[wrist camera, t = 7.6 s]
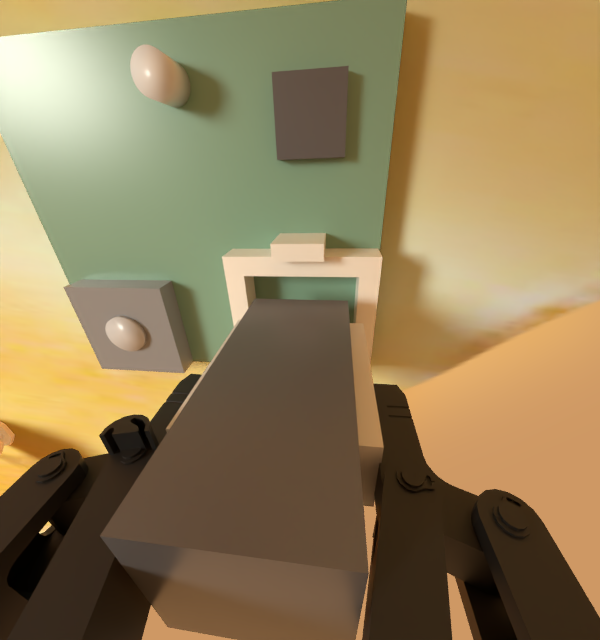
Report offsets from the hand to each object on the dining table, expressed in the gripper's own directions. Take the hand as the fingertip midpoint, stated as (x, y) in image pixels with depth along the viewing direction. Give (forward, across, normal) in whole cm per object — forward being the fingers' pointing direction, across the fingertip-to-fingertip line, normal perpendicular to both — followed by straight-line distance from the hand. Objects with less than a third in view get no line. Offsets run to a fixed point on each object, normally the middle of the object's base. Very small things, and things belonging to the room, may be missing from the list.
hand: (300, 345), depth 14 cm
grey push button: (+5, -9, -1) cm, 10 cm away
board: (+4, -6, +5) cm, 9 cm away
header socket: (+3, 0, 0) cm, 3 cm away
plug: (+1, 0, 0) cm, 1 cm away
